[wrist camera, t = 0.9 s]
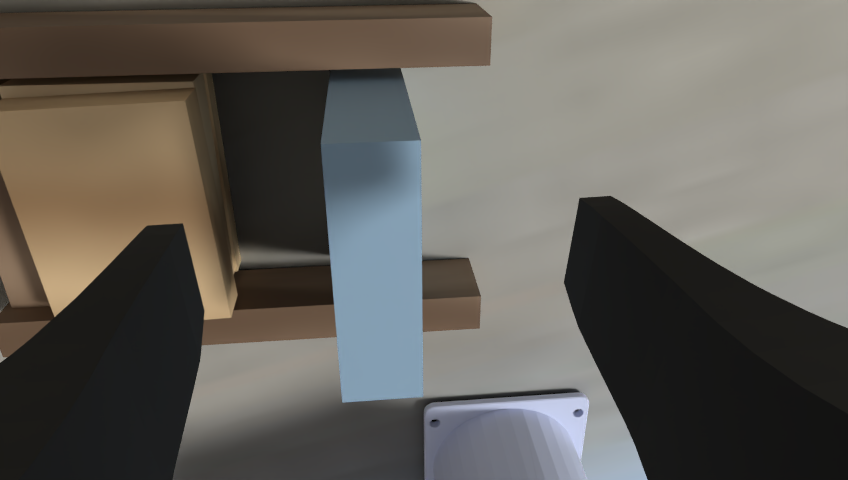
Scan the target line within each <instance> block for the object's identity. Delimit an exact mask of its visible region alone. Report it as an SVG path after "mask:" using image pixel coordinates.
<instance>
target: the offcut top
mask: <svg viewBox="0 0 848 480" xmlns="http://www.w3.org/2000/svg"><path fill="white" fill-rule="evenodd" d="M0 171H1V174H2V177H3V179H4V182H5V185H6V187H7V190H8V193H9V195H10V198H11V201H12V204H13V206H14V209H15V212H16V214H17V217H18V220H19V223H20V225H21V228H22V231H23V233H24V236H25V239H26V241H27V244H28V247H29V250H30V252H31V255H32V258H33V260H34V263H35V266H36V268H37V271H38V274H39V277H40V279H41V282H42V285H43V287H44V290H45V293H46V296H47V298H48V301H49V304H50V306H51V309H52V312H53V314H54V317H55V316H56V315H57V314H59V313H60V312H61V311H62V310H63V309H64V308H65V307H66V306H67V305H69V304H70V303H71V302H72V301H73V300H74V299H75V298H76V297H77V296H78V295H79V294H80V293H81V292H82V291H83V290H84V289H85V288H86V287H87V286H88V285H89V284H90V283H91V282H92V281H93V280H94V279H95V278H96V277H97V276H98V275H99V274H100V273H101V272H102V271H103V270H104V269H105V268H106V267H107V266H108V265H109V264H110V263H111V262H112V261H113V260H114V259H115V258H116V257H117V256H118V255H119V254H120V253H121V252H122V250H123V249H124V248H125V247H126V246H127V245H128V244H129V243H130V242H131V241H132V240H133V239H134V238H135V237H136V236H137V235H138V234H139V233H140V232H141V231H142V230H143V229H144V228H145V227H146V226H148V225H163V224H179V223H183V225H184V229H185V233H186V237H187V241H188V245H189V249H190V254H191V258H192V262H193V266H194V270H195V274H196V278H197V282H198V286H199V290H200V294H201V298H202V302H203V306H204V311H205V312H204V320H209V319H221V318H231V316H232V313H233V310H234V306H235V303H236V299H237V296H238V294H237V289H236V284H235V279H234V274H233V270H232V265H231V260H230V255H229V250H228V245H227V240H226V235H225V230H224V225H223V220H222V215H221V210H220V205H219V200H218V196H217V191H216V186H215V181H214V176H213V171H212V166H211V161H210V156H209V151H208V146H207V141H206V136H205V131H204V126H203V121H202V117H201V112H200V107H199V102H198V97H197V92H196V88H179V89H161V90H144V91H126V92H109V93H92V94H74V95H57V96H39V97H22V98H4V99H1V100H0Z"/></svg>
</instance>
